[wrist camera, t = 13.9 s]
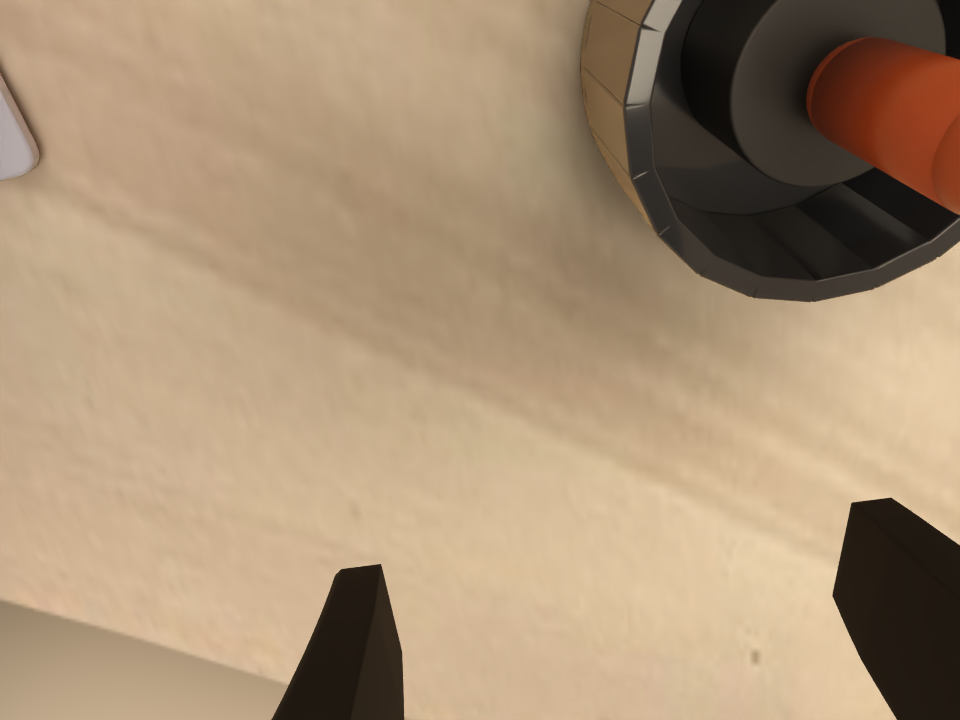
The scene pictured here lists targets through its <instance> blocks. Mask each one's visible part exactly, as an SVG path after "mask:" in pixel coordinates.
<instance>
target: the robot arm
mask: <svg viewBox="0 0 960 720" xmlns="http://www.w3.org/2000/svg"><path fill="white" fill-rule="evenodd" d="M38 162H39V151H38V147H37V144H36V142H35V140H34V139H33V137H32V135H31V133H30V131H29V129H28V127H27V125H26V123H25V121H24V119H23V117H22V115H21V113H20V111H19V109H18V107H17V105H16V103H15V101H14V99H13V97H12V95H11V94H10V92H9V90H8V88H7V86H6V84H5V82H4V80H3V78H2V76H1V74H0V181H2V180H6V179H10V178H15V177H19V176H22V175H24V174H26V173H28V172H30V171H31V170H32V169H34V168H35V166H36V165H37V163H38ZM832 596H833V598H834V600H835V603H836V605H837V607H838V610H839V612H840V614H841V617H842V619H843V621H844V623H845V626H846V628H847V630H848V633H849V635H850V637H851V639H852V641H853V643H854V645H855V647H856V650H857V652H858V654H859V656H860V658H861V660H862V662H863V663H864V665H865V667H866V669H867V670H868V672H869V674H870V675H871V677H872V679H873V681H874V682H875V684H876V686H877V687H878V689H879V691H880V692H881V694H882V696H883V697H884V699H885V701H886V702H887V704H888V706H889V707H890V709H891V711H892V712H893V714H894V715H895V717H896V719H897V720H960V545H958V544H957V543H956V542H954V541H953V540H951V539H950V538H948V537H947V536H946V535H944V534H943V533H941V532H940V531H939V530H937V529H936V528H934V527H933V526H932V525H930V524H929V523H927V522H926V521H924V520H923V519H922V518H920V517H919V516H917V515H916V514H914V513H913V512H912V511H910V510H909V509H907V508H906V507H904V506H903V505H901V504H900V503H898V502H897V501H895V500H894V499H892V498H885V499H877V500H869V501H862V502H854V503H851V508H850V513H849V518H848V522H847V527H846V532H845V537H844V542H843V547H842V551H841V556H840V561H839V566H838V571H837V576H836V580H835V585H834V590H833V595H832ZM272 720H404V694H403V664H402V650H401V645H400V641H399V637H398V633H397V629H396V625H395V620H394V616H393V612H392V608H391V604H390V599H389V595H388V591H387V587H386V583H385V578H384V574H383V570H382V566H381V564H378V565H370V566H362V567H355V568H347V569H341V570H340V571H339V572H338V573H337V574H336V575H335V577H334V580H333V583H332V586H331V589H330V592H329V594H328V597H327V600H326V602H325V605H324V608H323V610H322V613H321V615H320V618H319V620H318V622H317V625H316V627H315V629H314V632H313V634H312V636H311V639H310V641H309V643H308V646H307V648H306V650H305V652H304V655H303V657H302V659H301V661H300V663H299V665H298V667H297V669H296V671H295V673H294V676H293V678H292V680H291V682H290V684H289V686H288V688H287V690H286V692H285V694H284V697H283V699H282V701H281V702H280V704H279V706H278V708H277V710H276V712H275V714H274V716H273V718H272Z"/></svg>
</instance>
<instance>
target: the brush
mask: <svg viewBox="0 0 960 720" xmlns="http://www.w3.org/2000/svg"><path fill="white" fill-rule="evenodd" d="M681 76H682V84H683V90H684V94H685V97H686V100H687V103H688V105H689V107H690V110H691V111H692V113H693V114H694V116H695V118H696V119H697V120H698V122H699V123H700V124H701V125H702V126H703V127H704V128H705V129H706V130H707V131H708V132H709V133H711V134H712V135H713V136H714V137H716V138H717V139H718V140H720V141H721V142H722V143H723V144H725V145H726V146H727V147H728V148H730V149H731V150H732V151H734V152H735V153H736V154H737V155H739V156H740V157H741V158H743V159H744V160H745V161H746V162H748V163H749V164H750V165H751V166H753V167H754V168H755V169H757V170H758V171H759V172H760V173H762V174H764V175H765V176H767V177H768V178H770V179H772V180H775V181H777V182H779V183H782V184H786V185H790V186H795V187H805V188H807V187H823V186H829V185H834V184H838V183H841V182H845V181H848V180H850V179H852V178H855V177H857V176H860V175H861V174H863V173H865V172H867V171H869V170H871V169H872V168H874V167H876V168H878V169H879V170H881V171H883V172H884V173H886V174H888V175H890V176H891V177H893V178H895V179H897V180H898V181H900V182H902V183H903V184H905V185H907V186H909V187H910V188H912V189H914V190H916V191H917V192H919V193H921V194H923V195H924V196H926V197H928V198H929V199H931V200H933V201H935V202H936V203H938V204H940V205H942V206H943V207H945V208H947V209H948V210H950V211H952V212H954V213H956V214H959V215H960V60H959V59H956V58H952V57H949V56H946V35H945V27H944V22H943V18H942V14H941V12H940V9H939V7H938V4H937V2H936V0H704V2H703V3H702V5H701V6H700V8H699V9H698V11H697V13H696V15H695V17H694V19H693V21H692V23H691V25H690V28H689V31H688V33H687V36H686V40H685V44H684V48H683V54H682V62H681Z"/></svg>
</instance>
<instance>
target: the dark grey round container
mask: <svg viewBox="0 0 960 720" xmlns="http://www.w3.org/2000/svg"><path fill="white" fill-rule="evenodd" d="M703 2H704V0H591V4H590V7H589V10H588V13H587V18H586V23H585V29H584V34H583V39H582V51H581V67H580V69H581V86H582V96H583V101H584V106H585V111H586V116H587V119H588V122H589V125H590V128H591V131H592V134H593V137H594V140H595V142H596V144H597V146H598V148H599V150H600V152H601V154H602V156H603V158H604V159H605V161H606V162H607V164H608V166H609V168H610V170H611V172H612V174H613V176H614V177H615V179H616V180H617V181H618V183H619V184H620V185H621V187H622V188H623V190H624V191H625V192H626V194H627V195H628V196H629V198H630V199H631V200H632V202H633V203H634V205H635V206H636V207H637V209H638V210H639V211H640V213H641V214H642V216H643V217H644V218H645V220H646V221H647V222H648V224H649V225H650V227H651V228H652V229H653V231H654V232H655V233H656V235H657V236H658V237H659V238H660V239H661V240H662V241H663V242H664V243H665V244H666V245H667V246H668V247H669V248H670V249H671V250H672V251H673V252H674V253H675V254H677V255H678V256H679V257H680V258H681V259H682V260H683V261H684V262H685V263H686V264H687V265H688V266H689V267H690V268H691V269H692V270H693V271H694V272H695V273H696V274H699V275H700V276H701V277H704V278H706V279H708V280H711V281H713V282H716V283H718V284H720V285H723V286H725V287H727V288H730V289H732V290H734V291H737V292H739V293H741V294H744V295H746V296H748V297H753V298H761V299H774V300H788V301H801V302H811V301H812V302H816V301H821V300H826V299H830V298H835V297H840V296H845V295H849V294H854V293H859V292H864V291H868V290H873V289H874V288H878V287H880V286H882V285H884V284H886V283H888V282H890V281H892V280H895V279H897V278H899V277H901V276H903V275H905V274H907V273H909V272H911V271H913V270H915V269H917V268H919V267H921V266H923V265H925V264H928V263H930V262H932V261H934V260H935V259H937V257H941V256H942V255H943V254H944V253H946V252H947V251H948V250H949V249H951V248H952V247H953V246H954V245H956V244H957V243H958V242H959V241H960V215H959V214H956V213H954V212H952V211H950V210H948V209H947V208H945V207H943V206H942V205H940V204H938V203H936V202H935V201H933V200H931V199H929V198H928V197H926V196H924V195H923V194H921V193H919V192H917V191H916V190H914V189H912V188H910V187H909V186H907V185H905V184H903V183H902V182H900V181H898V180H897V179H895V178H893V177H891V176H890V175H888V174H886V173H884V172H883V171H881V170H879V169H878V168H876V167H874V168H872V169H871V170H869V171H867V172H865V173H863V174H861V175H860V176H857V177H855V178H852V179H850V180H848V181H845V182H841V183H838V184H834V185H829V186H823V187H807V188H805V187H795V186H790V185H786V184H782V183H779V182H777V181H775V180H772V179H770V178H768V177H767V176H765V175H764V174H762V173H760V172H759V171H758V170H757V169H755V168H754V167H753V166H751V165H750V164H749V163H748V162H746V161H745V160H744V159H743V158H741V157H740V156H739V155H737V154H736V153H735V152H734V151H732V150H731V149H730V148H728V147H727V146H726V145H725V144H723V143H722V142H721V141H720V140H718V139H717V138H716V137H714V136H713V135H712V134H711V133H709V132H708V131H707V130H706V129H705V128H704V127H703V126H702V125H701V124H700V123H699V122H698V120H697V119H696V118H695V116H694V114H693V113H692V111H691V110H690V107H689V105H688V103H687V100H686V97H685V94H684V90H683V84H682V76H681V62H682V54H683V48H684V44H685V40H686V36H687V33H688V31H689V28H690V25H691V23H692V21H693V19H694V17H695V15H696V13H697V11H698V9H699V8H700V6H701V5H702V3H703ZM936 2H937V4H938V7H939V9H940V12H941V14H942V18H943V22H944V27H945V35H946V56H949V57H952V58H956V59H959V60H960V0H936Z"/></svg>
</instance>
